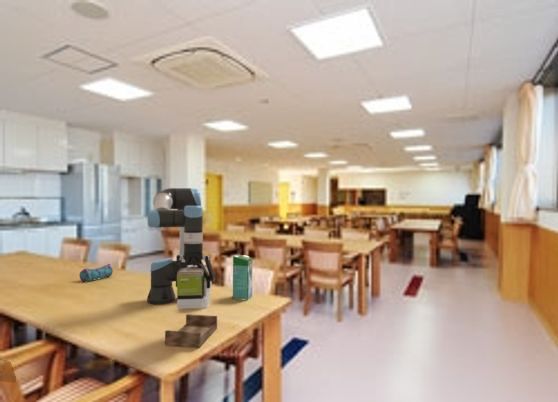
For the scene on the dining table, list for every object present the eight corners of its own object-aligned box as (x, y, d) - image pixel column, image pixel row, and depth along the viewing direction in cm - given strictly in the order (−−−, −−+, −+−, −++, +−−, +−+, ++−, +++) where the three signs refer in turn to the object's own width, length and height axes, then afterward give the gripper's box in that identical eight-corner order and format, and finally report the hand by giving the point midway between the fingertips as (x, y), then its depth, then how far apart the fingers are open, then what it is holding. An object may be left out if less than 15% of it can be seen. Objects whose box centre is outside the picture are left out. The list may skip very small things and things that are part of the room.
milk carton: (247, 300, 189) (248, 256, 189) (232, 299, 191) (232, 256, 191) (252, 296, 198) (252, 254, 198) (237, 295, 200) (238, 253, 200)
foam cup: (214, 305, 180) (214, 281, 180) (205, 310, 171) (205, 285, 171) (199, 303, 183) (199, 279, 183) (189, 308, 174) (189, 283, 175)
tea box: (184, 298, 145) (184, 264, 145) (207, 297, 145) (207, 263, 146) (176, 308, 130) (176, 271, 130) (202, 308, 131) (202, 270, 131)
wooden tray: (165, 345, 129) (165, 331, 129) (187, 326, 149) (187, 314, 149) (199, 348, 126) (199, 333, 127) (217, 328, 147) (217, 315, 147)
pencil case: (87, 283, 229) (87, 269, 229) (79, 282, 232) (79, 268, 233) (113, 277, 248) (113, 264, 248) (104, 276, 252) (105, 263, 252)
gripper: (162, 243, 136) (162, 296, 136) (217, 244, 133) (217, 299, 132) (171, 241, 143) (170, 292, 143) (223, 242, 140) (222, 294, 140)
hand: (193, 295), depth 138 cm, fingers closed on tea box, 11 cm apart
